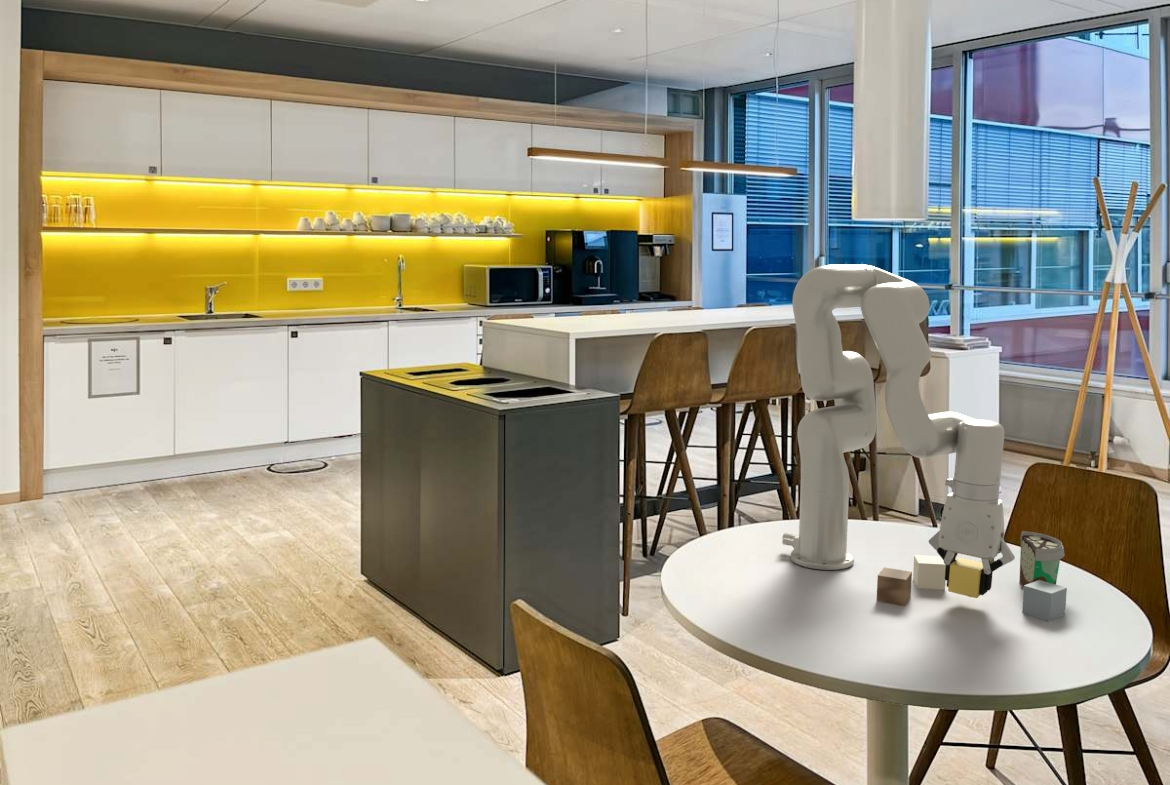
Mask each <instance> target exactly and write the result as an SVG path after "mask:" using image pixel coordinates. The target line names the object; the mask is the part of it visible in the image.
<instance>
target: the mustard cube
mask: <svg viewBox="0 0 1170 785" xmlns="http://www.w3.org/2000/svg"><path fill="white" fill-rule="evenodd" d="M955 560H956V561H954V562H953V563H952V564H950V574H949V586H948V587H947V590H948V592H950V593H953V594H958V595H961V596H966V597H970V598H974V599H978V598H979V597H980V596H981V595H980V594H979V587H980V576H981V573H982V572H983V565H982V561H977V560H973V559H968V558H963V557H959V558H956V559H955Z"/></svg>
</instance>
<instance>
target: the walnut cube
mask: <svg viewBox="0 0 1170 785" xmlns="http://www.w3.org/2000/svg"><path fill="white" fill-rule="evenodd" d="M912 581H913V571H909V570H902V569H896V568H890V567H883V568H882V569H881V571H880V572H879V573H878V574H877V582H876V583H877V585H876V602H879V603H883V604H884V603H885V604H890V605H895V606H902V607H906V605H907V604H908V603H909V601H910V599H911V597H912Z"/></svg>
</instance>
